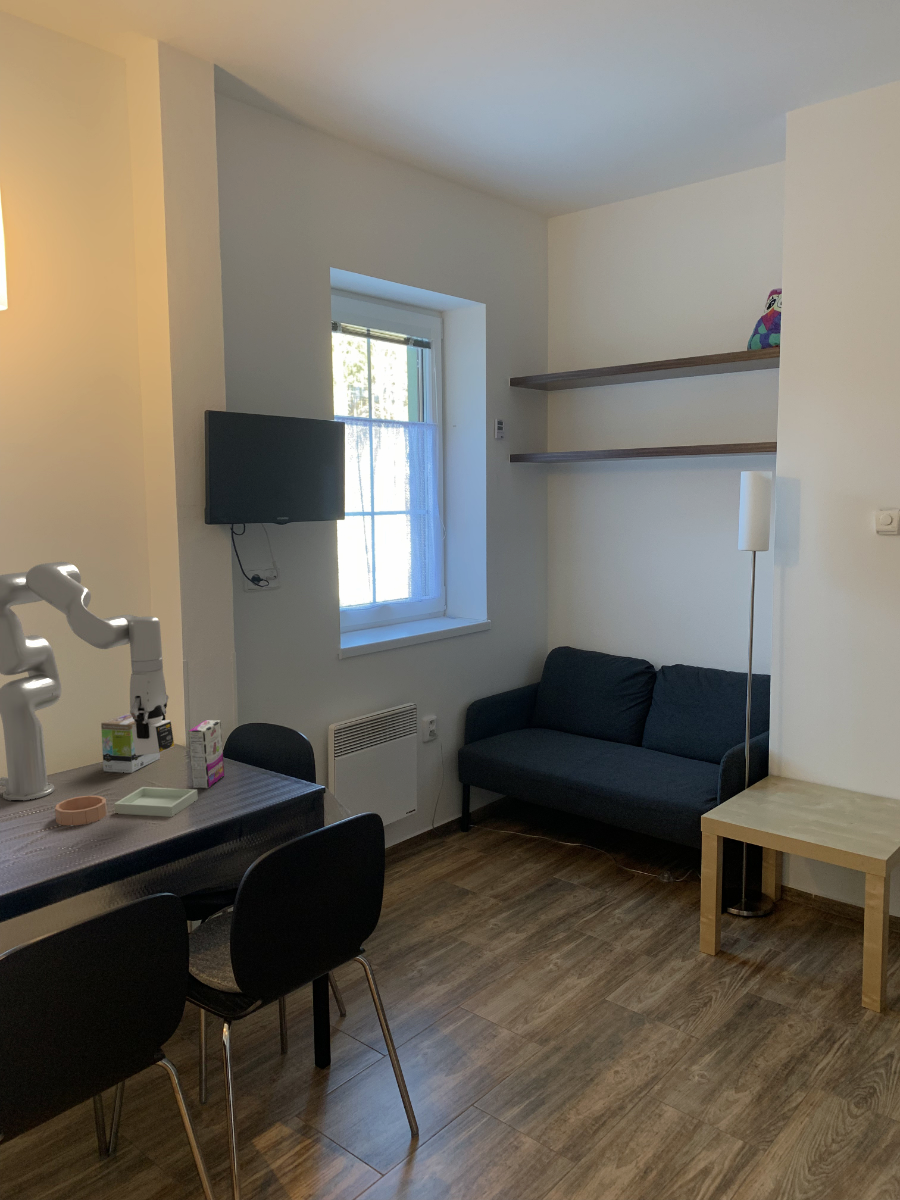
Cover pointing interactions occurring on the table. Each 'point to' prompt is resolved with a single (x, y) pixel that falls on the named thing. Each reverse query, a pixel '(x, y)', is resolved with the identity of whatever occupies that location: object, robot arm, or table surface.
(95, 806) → the faceted tan ring
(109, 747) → the tea box
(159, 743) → the medicine bottle
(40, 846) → the table surface
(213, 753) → the candy bar box
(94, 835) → the table surface
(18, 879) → the table surface
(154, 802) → the tray
